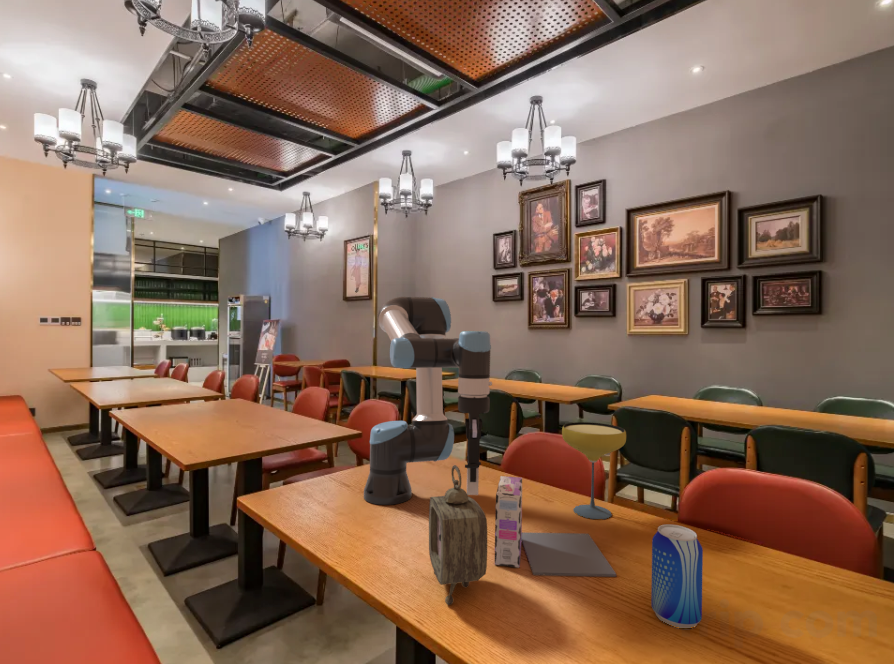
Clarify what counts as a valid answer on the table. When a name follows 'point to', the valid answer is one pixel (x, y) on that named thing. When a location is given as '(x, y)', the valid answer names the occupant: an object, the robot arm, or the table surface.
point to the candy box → (508, 521)
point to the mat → (565, 555)
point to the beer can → (677, 576)
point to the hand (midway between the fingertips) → (472, 493)
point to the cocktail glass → (593, 453)
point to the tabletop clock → (457, 537)
